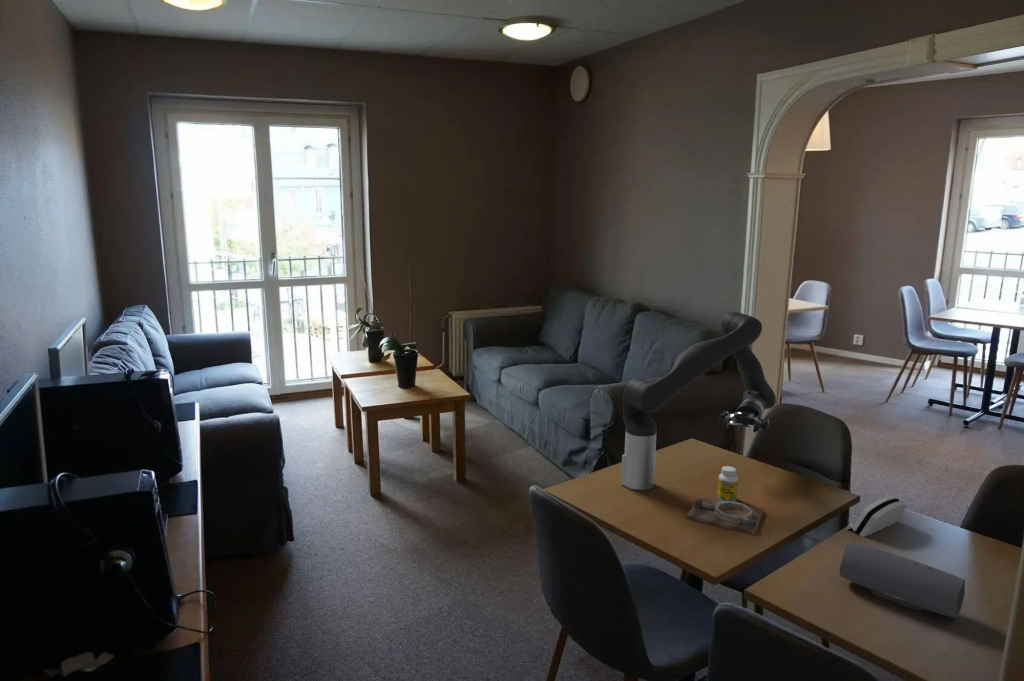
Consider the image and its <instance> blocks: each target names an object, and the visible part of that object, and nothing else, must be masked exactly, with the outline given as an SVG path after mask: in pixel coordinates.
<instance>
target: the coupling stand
mask: <svg viewBox="0 0 1024 681" xmlns="http://www.w3.org/2000/svg"><path fill="white" fill-rule="evenodd" d="M764 513H765V510H764V509H760V508H756V507H752V506H748V505H746V504H745V503H741V502H737V501H735V502H732V501H726V502H725V501H720V500H719V499H715V498H714V499H713V498H710V497H706V496H700V495H699V496H698V498H696V500H695V502H694V504H693V505H692V507H691V508H690V510H689V512H688V513H687V514H686V519H687V520H691V521H696V522H701V523H703V524H708V525H713V526H717V527H722V528H725V529H729V530H734V531H739V532H743V533H747V534H751V535H756V533H757V531H758V530H757V529H758V528H759V526H760V523H761V522H762V518H763V517H764Z"/></svg>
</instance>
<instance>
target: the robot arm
mask: <svg viewBox="0 0 1024 681" xmlns="http://www.w3.org/2000/svg"><path fill="white" fill-rule="evenodd" d="M720 327H721V328H720V329H721V333H722V335H723V336H720V337H717V338H716V337H715V338H713V339H707V340H704V341H699V342H696V343H694V344H692V345H691V346H689V347H687V348H686V349H684V350H683V351H682V352H680V354H678V355H677V356H676V358H675V359H674V362H673V364H672V367H671V368H670V370H669V372H668V373H667V374H665V375H664V376H663V377H661V378H660V379H658V380H656V381H654V382H652V381H649V380H646V379H644V378H641V377H634V378H632V379H630V380H629V381H628V382H627V383H626V385H625V387H624V390H623V396H622V404H623V406H622V409H623V412H622V414H623V416H622V417H623V423H624V425H625V433H624V434H625V438H624V453H623V454H622V456H621V476H620V477H621V478H620V484H621V485H622V486H625V487H626V488H627V489H630V490H633V491H634V490H635V491H647V490H648V491H649V490H651V489H652V488H654V484H655V466H656V450H657V449H656V448H657V431H658V430H657V429H658V428H657V423H656V421H655V419H653V417H652V416H651V414H652V413H655V412H657V411H659V410H660V409H662V408H663V407H664V406H665V405H666V404H667V403H668V402H669V401H671V400H672V399H673V397H675V396H676V395H677V394H678V393H680V392H681V391H682V390H683V389H685V388H686V387H687V386H689V385H690V384H691V383H693V382H694V381H695V380H697V379H699V378H700V377H702V376H703V375H705V374H706V373H708V372H709V371H710V370H711V369H713V368H714V367H716V366H717V365H718V364H720V363H722V362H724V360H726V359H728V358H729V357H730V356H733V357H734V359H735V361H736V364H737V366H738V369H739V371H740V375H741V379H742V383H743V386H744V387H745V389H746V390H745V391H744V392H743V393H742V394H743V395H742V402H741V404H739V406H737V408H736V410H735V412H733V413H729V411H728V410H723V412H722V413H720V414H719V423H720V424H722V426H723V427H724V428H725V429H727V428H728V427H729V426H730V425H731V426H737V425H740V426H742V427H744V428H752V429H753V430H752V431H753V433H754V434H755V433H757V432H759V431H760V430H761V429H762V430H763V431H767V430H768V429H769V425H770V417H769V416H764V417H763V415H764V412H765V411H766V409H767V410H769V409H772V408H773V407H775V405H776V402H777V397H776V394H775V391H774V389H773V388H772V386H770V384H769V383H768V381H767V380H766V378H765V374H764V370H763V367H762V364H761V362H760V361H759V359H758V357H757V356H756V355H755V354H754V352H753V351H752V349H751V348H750V347H749V346H750V345H753V343H755V342H756V341H757V340H758V338H759V337H760V335H761V334H762V331H763V324H762V322H761V321H760V320H759V319H758V318H756V317H754V316H753V315H752V316H751V315H748V314H745V313H742V312H738V311H729V312H728V313H727V314H725V315H724V317H723V319H722V320H721V324H720Z"/></svg>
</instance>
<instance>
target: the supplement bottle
mask: <svg viewBox="0 0 1024 681" xmlns="http://www.w3.org/2000/svg"><path fill="white" fill-rule="evenodd" d="M720 472H721V473H720V474H719V475H718V482H717V483H718V486H717V500H720V501H725V502H726V501H732V502H737V499H738V498H737V496H738V484H739V483H738V482H739V478H738V476H737V469H736V468H735V467H733V466H728V465H726V466H724V465H723V466H722V467H721V471H720Z"/></svg>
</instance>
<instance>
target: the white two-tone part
mask: <svg viewBox="0 0 1024 681" xmlns="http://www.w3.org/2000/svg"><path fill="white" fill-rule="evenodd" d="M906 508H907V504H906V503H905V502H904V501H900V498H899V497H897V496H894V495H889V496H884V497H882V498H880V499H877V500H876V501H874V502H872V503H871V504H870V505H868V506H866V507H865V508H864V509H863V510H862V512H861V513H860V515H859V516H858V517H857V519H856V521H854V522H852V523H849V524H848V525H847V528H846V529H845V530H846V531H848V530H847V529H850V528H852V530H853V532H858V534H859V535H858V536H860V537H861V536H863V537H862V538H866V537H868V536H870V535H872V533H873V534H874V532H875V533H877V532H878V530H879V531H882V530H884V529H886V528H888V527H890V526H892V525H894V523H895V524H896V522H897V523H898V522H899V521H900V519H901V517H902V515H903V513H904V512H905V510H906ZM853 523H854V524H853ZM887 526H888V527H887ZM885 527H886V528H885ZM883 528H884V529H883ZM850 530H851V529H850ZM876 531H877V532H876ZM867 535H868V536H867ZM865 536H866V537H865Z"/></svg>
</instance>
